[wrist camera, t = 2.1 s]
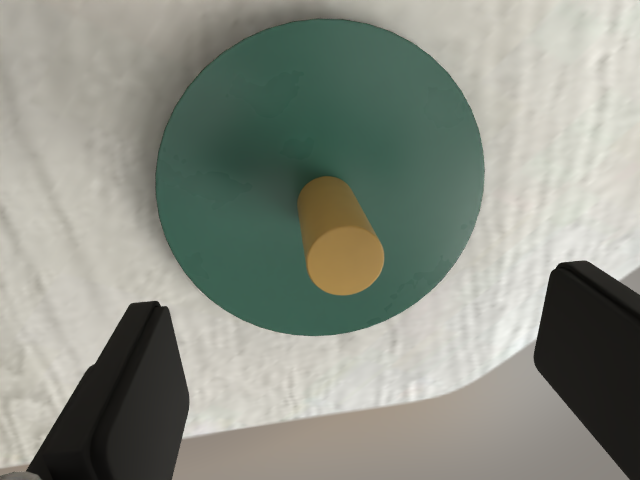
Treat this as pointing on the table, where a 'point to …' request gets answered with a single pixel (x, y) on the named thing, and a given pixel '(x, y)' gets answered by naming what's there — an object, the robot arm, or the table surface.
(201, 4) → the table surface
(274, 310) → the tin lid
